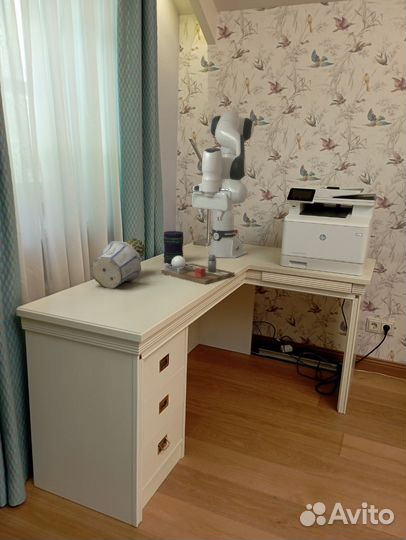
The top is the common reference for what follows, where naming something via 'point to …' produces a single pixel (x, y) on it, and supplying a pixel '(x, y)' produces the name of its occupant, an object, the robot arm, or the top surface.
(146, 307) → the top surface
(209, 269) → the pawn
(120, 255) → the potted plant
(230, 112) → the robot arm
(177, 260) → the white ball
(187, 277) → the board
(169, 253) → the storage jar
